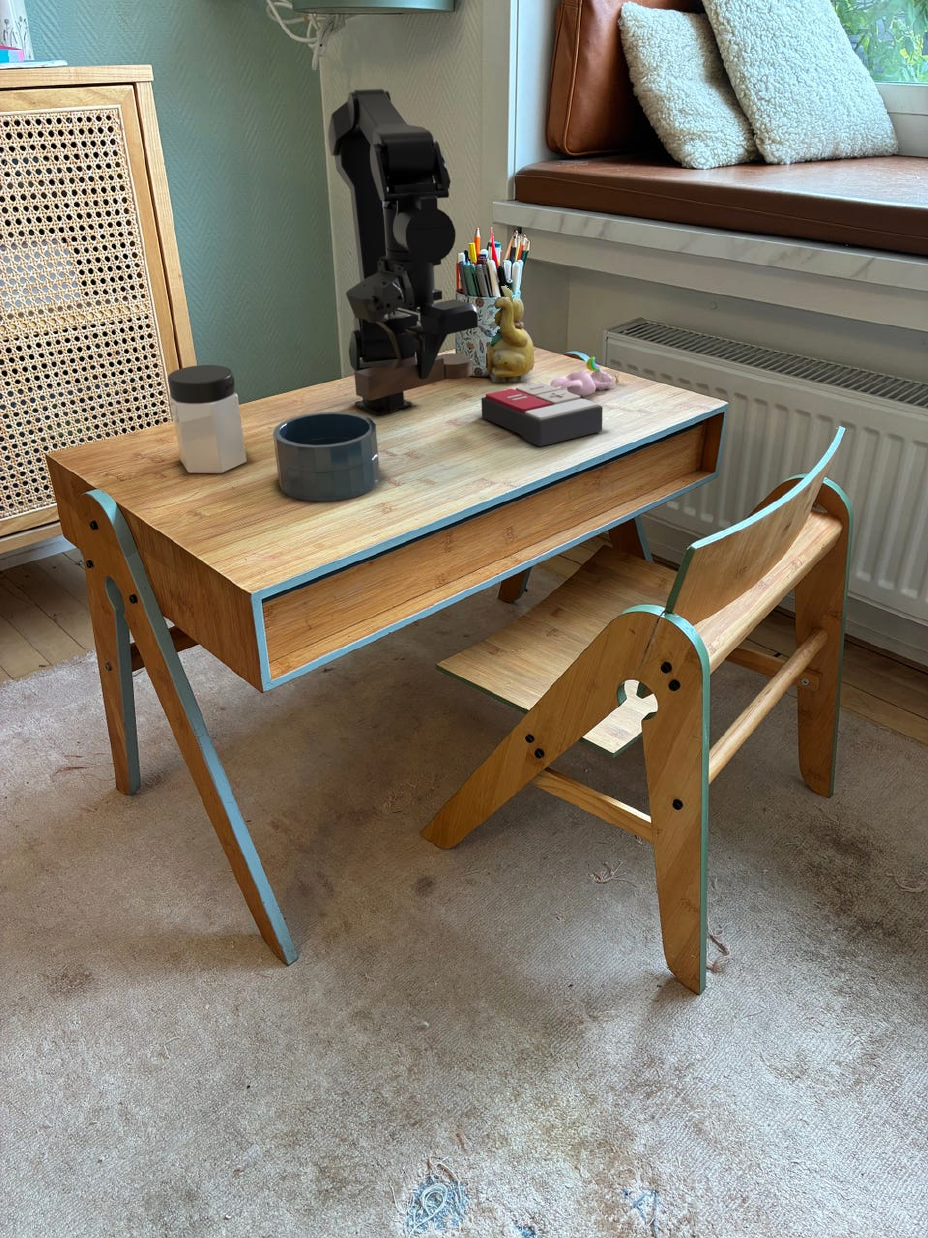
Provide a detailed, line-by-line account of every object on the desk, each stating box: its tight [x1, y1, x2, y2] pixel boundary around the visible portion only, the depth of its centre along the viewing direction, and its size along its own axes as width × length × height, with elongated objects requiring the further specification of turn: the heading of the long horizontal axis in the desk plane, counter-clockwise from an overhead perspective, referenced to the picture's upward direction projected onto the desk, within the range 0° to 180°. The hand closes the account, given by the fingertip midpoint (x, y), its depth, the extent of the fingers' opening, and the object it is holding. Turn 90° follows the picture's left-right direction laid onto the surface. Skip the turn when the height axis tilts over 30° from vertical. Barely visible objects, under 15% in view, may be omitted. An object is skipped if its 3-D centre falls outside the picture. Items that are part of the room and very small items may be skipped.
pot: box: [272, 411, 380, 503], centre depth 123 cm, size 13×13×7 cm
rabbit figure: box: [549, 356, 620, 398], centre depth 151 cm, size 6×6×15 cm
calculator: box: [480, 382, 604, 447], centre depth 140 cm, size 11×4×15 cm
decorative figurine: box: [485, 285, 535, 383], centre depth 157 cm, size 10×8×15 cm
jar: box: [167, 364, 247, 474], centre depth 128 cm, size 9×8×12 cm
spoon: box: [354, 352, 473, 400], centre depth 126 cm, size 17×5×3 cm, turn 131°
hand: (415, 375), depth 126 cm, fingers closed on spoon, 3 cm apart
